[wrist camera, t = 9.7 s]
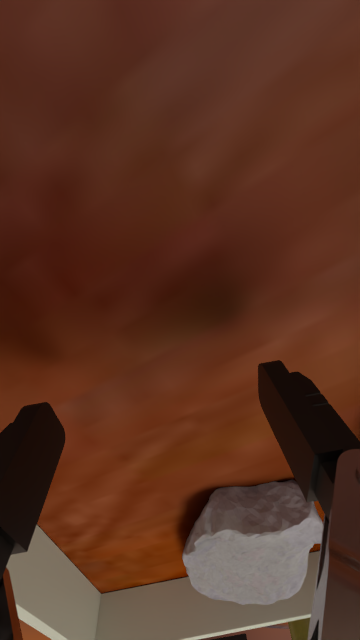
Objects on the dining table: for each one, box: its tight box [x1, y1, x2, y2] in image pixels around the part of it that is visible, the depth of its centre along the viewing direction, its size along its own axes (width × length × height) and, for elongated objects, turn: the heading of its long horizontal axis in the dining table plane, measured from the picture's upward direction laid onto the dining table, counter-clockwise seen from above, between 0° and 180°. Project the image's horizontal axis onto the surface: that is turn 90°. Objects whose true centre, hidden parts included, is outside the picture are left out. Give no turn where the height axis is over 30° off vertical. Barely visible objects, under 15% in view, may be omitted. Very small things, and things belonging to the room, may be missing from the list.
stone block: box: [182, 480, 323, 605], centre depth 21 cm, size 12×5×10 cm
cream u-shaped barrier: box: [6, 525, 320, 640], centre depth 20 cm, size 21×27×4 cm
